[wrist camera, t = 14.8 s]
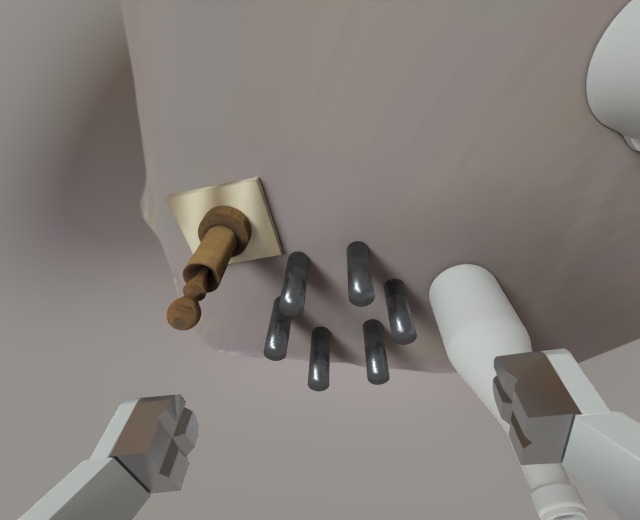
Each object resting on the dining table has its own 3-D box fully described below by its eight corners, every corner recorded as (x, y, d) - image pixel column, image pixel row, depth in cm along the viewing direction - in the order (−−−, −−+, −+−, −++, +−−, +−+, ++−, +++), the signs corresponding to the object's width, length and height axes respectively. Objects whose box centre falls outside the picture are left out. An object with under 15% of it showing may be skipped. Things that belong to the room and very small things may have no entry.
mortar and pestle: (197, 205, 47) (132, 295, 32) (248, 204, 46) (206, 295, 31) (208, 249, 50) (154, 349, 35) (255, 249, 50) (220, 349, 35)
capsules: (397, 234, 49) (410, 279, 41) (409, 328, 59) (421, 379, 51) (256, 258, 52) (241, 304, 44) (289, 344, 62) (282, 395, 54)
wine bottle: (438, 256, 51) (536, 488, 26) (504, 265, 51) (662, 501, 27) (419, 307, 56) (486, 540, 32) (479, 315, 57) (592, 550, 32)
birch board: (258, 176, 45) (256, 180, 44) (282, 250, 51) (281, 254, 50) (169, 194, 47) (166, 198, 46) (203, 263, 53) (200, 268, 52)
